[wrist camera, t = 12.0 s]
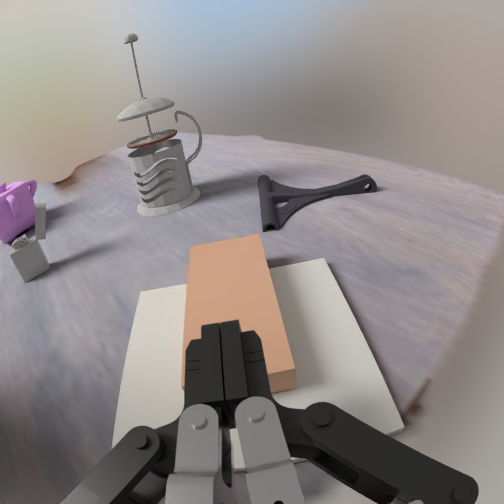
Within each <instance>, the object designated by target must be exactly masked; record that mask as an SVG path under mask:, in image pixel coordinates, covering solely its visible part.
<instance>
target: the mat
mask: <svg viewBox="0 0 504 504" xmlns="http://www.w3.org/2000/svg"><path fill="white" fill-rule="evenodd" d="M269 272H270V276H271V279H272V283H273V287H274V290H275V294H276V298H277V302H278V305H279V309H280V313H281V317H282V320H283V324H284V328H285V332H286V336H287V339H288V343H289V347H290V351H291V355H292V358H293V362H294V366H295V373H296V386H297V388H294V389H289V390H285V391H280V392H274V393H271V394H272V396H273V398H274V399H275V401H276V402H277V403H279V404H280V405H282V406H284V407H288V408H295V409H306V408H307V407H308V406H310V405H311V404H314V403H317V402H329V403H332V404H334V405H336V406H337V407H339V408H340V409H342V410H344V411H345V412H347V413H349V414H351V415H352V416H354V417H356V418H357V419H359V420H361V421H363V422H364V423H366V424H368V425H370V426H371V427H373V428H375V429H377V430H378V431H380V432H382V433H384V434H386V435H388V436H391V435H394V434H397V433H399V432H402V431H403V429H404V428H405V427H404V424H403V422H402V420H401V417H400V415H399V412H398V410H397V408H396V406H395V403H394V401H393V399H392V396H391V394H390V392H389V390H388V387H387V385H386V383H385V381H384V379H383V376H382V374H381V372H380V370H379V368H378V365H377V363H376V361H375V359H374V357H373V355H372V353H371V350H370V348H369V346H368V344H367V342H366V340H365V338H364V336H363V334H362V332H361V330H360V328H359V326H358V324H357V321H356V319H355V317H354V315H353V313H352V311H351V309H350V307H349V305H348V303H347V301H346V300H345V298H344V296H343V294H342V292H341V290H340V288H339V286H338V284H337V282H336V280H335V278H334V276H333V274H332V272H331V270H330V269H329V267H328V265H327V263H326V261H325V259H324V258H321V259H316V260H311V261H306V262H301V263H296V264H291V265H286V266H280V267H275V268H270V269H269ZM186 290H187V284H183V285H177V286H171V287H166V288H160V289H154V290H148V291H142V292H140V296H139V301H138V305H137V309H136V313H135V317H134V322H133V326H132V331H131V335H130V340H129V345H128V350H127V355H126V360H125V365H124V370H123V376H122V381H121V387H120V393H119V399H118V405H117V412H116V419H115V426H114V434H113V442H112V449H113V448H114V446H115V445H116V444H117V443H118V442H119V441H120V440H121V439H122V438H123V437H124V436H125V435H126V434H127V432H128V431H130V430H131V429H132V428H134V427H137V426H148V427H151V428H152V429H156V428H159V427H161V426H164V425H167V424H169V423H171V422H173V421H175V420H176V419H177V418H178V417H179V416H180V414H181V413H182V411H183V408H184V391H183V389H182V387H181V376H182V353H183V334H184V318H185V303H186ZM230 437H231V441H232V442H233V446H234V472H238V471H245V464H244V459H243V454H242V450H241V445H240V440H239V435H238V430H237V426H236V428H234V429H230ZM291 460H292V462H293V463H295V462H300V461H305V460H307V459H303V458H293V457H291Z"/></svg>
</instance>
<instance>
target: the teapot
mask: <svg viewBox="0 0 504 504" xmlns="http://www.w3.org/2000/svg"><path fill="white" fill-rule="evenodd" d="M28 185H29V186H30V190H29V188H28ZM36 188H37V182H36V181H35V180H29V181H26V182H13V183H11V184H10V185H8V186H6V183H2V184H0V239H1V240H2V241H4V242H5V243H7V242H11V241H13V240H14V239H15V238H16V236H17V235H18V234H20V233H21V232H22V231H24V230H25V229H30V228H32V227H33V226H34V225H35V218H36V206H35V203H34V201H33V196H34V194H35V191H36Z"/></svg>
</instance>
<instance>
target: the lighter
mask: <svg viewBox="0 0 504 504" xmlns="http://www.w3.org/2000/svg"><path fill="white" fill-rule="evenodd" d="M45 230H46V203H43V204H36V218H35V236H34V237H32V238H30V239H29V240H28V239H27V236H26V234H24V235H23V236H21V237H19V238H17V239H16V240H14V242H13V244H12V247H13V249H11V250H10V257H11V259H12V260H13V262H14V264H15V266H16V268H17V270H18V272H19V273H20V275H21V277H22V279H23V280H24V282H25V283H26V282H28V281H29V280H31V279H33V278H35V277H36V276H38V275H40V274H41V273H43V272H45V271H47V270H48V269H50V266H49V263H48V261H47V259H46V257H45V255H44V253H43V251H42V249H41V247H40V244H39V242H38V240H37V239H45Z"/></svg>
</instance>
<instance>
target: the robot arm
mask: <svg viewBox="0 0 504 504" xmlns="http://www.w3.org/2000/svg"><path fill="white" fill-rule="evenodd" d="M236 426H237V430H238V435H239V440H240V445H241V450H242V454H243V459H244V464H245V477H246V482H247V487H248V491H249V496H250V500H251V504H306V503H305V500H304V497H303V493H302V490H301V487H300V484H299V480H298V477H297V474H296V470H295V467H294V464H293V462H292V460H291V457H293V458H303V459H307V460H308V461H310V462H311V463H313V464H314V465H316V466H317V467H319V468H320V469H322V470H323V471H325V472H326V473H328V474H329V475H331V476H332V477H334V478H336V479H337V480H339V481H340V482H342V483H344V484H345V485H347V486H348V487H350V488H352V489H353V490H355V491H357V492H358V493H360V494H362V495H364V496H365V497H367V498H369V499H371V500H372V501H374V502H376V503H378V504H474V503H475V502H476V500H477V497H478V485H477V483H476V481H475V480H474V479H473V478H472V477H470V476H468V475H466V474H463V473H461V472H459V471H457V470H455V469H453V468H450V467H448V466H446V465H444V464H442V463H440V462H438V461H436V460H434V459H431V458H430V457H428V456H426V455H424V454H422V453H420V452H418V451H416V450H414V449H412V448H410V447H408V446H406V445H404V444H402V443H400V442H399V441H397V440H395V439H393V438H391V437H389V436H388V435H386V434H384V433H382V432H380V431H378V430H377V429H375V428H373V427H371V426H370V425H368V424H366V423H364V422H363V421H361V420H359V419H357V418H356V417H354V416H352V415H351V414H349V413H347V412H345V411H344V410H342V409H340V408H339V407H337V406H336V405H334V404H332V403H329V402H317V403H314V404H311V405H310V406H308V407H307V408H306V409H295V408H288V407H284V406H282V405H280V404H279V403H277V402H276V401H275V399H274V398H273V396H272V394H271V390H270V384H269V379H268V374H267V368H266V363H265V358H264V352H263V347H262V341H261V338H260V337H259V336H258V334H257V333H256V332H255V331H254V330H251V331H245V332H242V330H241V326H240V322H239V319H237V320H231V321H225V322H221V324H220V322H219V323H212V324H206V325H202V326H201V338H200V339H193V340H191V341H190V343H189V345H188V347H187V349H186V351H185V383H184V408H183V411H182V413H181V414H180V416H179V417H178V418H177V419H176V420H175V421H173V422H171V423H169V424H167V425H164V426H161V427H159V428H156V429H152V428H151V427H148V426H137V427H134V428H132V429H131V430H130V431H128V432H127V434H126V435H125V436H124V437H123V438H122V439H121V440H120V441H119V442H118V443H117V444H116V445H115V446H114V448H113V449H112V450H111V451H110V452H109V453H108V454H107V455H106V456H105V457H104V458H103V459H102V460H101V461H100V462H99V464H98V465H97V466H96V467H95V468H94V469H93V470H92V471H91V472H90V473H89V474H88V475H87V476H86V477H85V478H84V479H83V480H82V481H81V482H80V483H79V485H78V486H77V487H76V488H75V489H74V490H73V491H72V492H71V493H70V494H69V495H68V496H67V497H66V498H65V499H64V500H63V501H62V502H61V503H60V504H158V502H159V501H160V500H161V499H162V498H163V497H164V496H165V494H166V499H165V504H237V497H236V493H235V487H234V446H233V442H232V441H231V437H230V429H234V428H236Z"/></svg>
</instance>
